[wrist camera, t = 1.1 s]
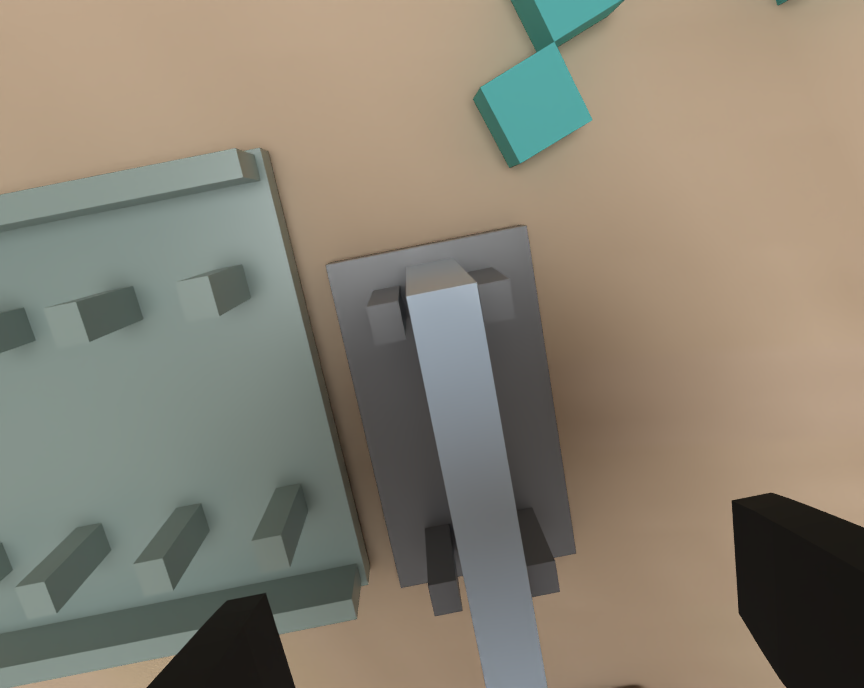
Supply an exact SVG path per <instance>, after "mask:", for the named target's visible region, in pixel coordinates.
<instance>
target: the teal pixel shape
mask: <svg viewBox="0 0 864 688" xmlns="http://www.w3.org/2000/svg"><path fill="white" fill-rule="evenodd" d="M623 1H624V0H511V2H512V4H513V6H514V8H515V10H516V12H517V14H518V16H519V18H520V20H521V22H522V24H523V26H524V28H525V30H526V32H527V34H528V36H529V38H530V40H531V42H532V44H533V46H534V48H535V50H536V52H537V53H535V54H534V55H532V56H530V57H529V58H527V59H525V60H524V61H522V62H521V63H519V64H517V65H516V66H514V67H513V68H511V69H509V70H508V71H506V72H504V73H503V74H501V75H500V76H498V77H496V78H495V79H493V80H492V81H490V82H488V83H487V84H485V85H483V86H482V87H480V89H479V90H478V92H477V94H476V95H475V97H474V99H473V100H474V102H475V104H476V106H477V108H478V110H479V112H480V113H481V115H482V117H483V119H484V121H485V123H486V125H487V127H488V129H489V130H490V132H491V134H492V136H493V138H494V140H495V142H496V144H497V145H498V147H499V149H500V151H501V153H502V155H503V157H504V159H505V160H506V162H507V164H508V166H509V168H510V167H513V166H515V165H518V164H520V163H522V162H524V161H525V160H527V159H529V158H530V157H532V156H534V155H535V154H537V153H539V152H540V151H542V150H544V149H545V148H547V147H549V146H550V145H552V144H554V143H555V142H557V141H558V140H560V139H562V138H563V137H565V136H567V135H568V134H570V133H572V132H573V131H575V130H577V129H578V128H580V127H582V126H583V125H585V124H587V123H588V122H590V121H592V118H591V116H590V114H589V112H588V110H587V108H586V105H585V103H584V101H583V99H582V97H581V95H580V93H579V91H578V89H577V87H576V85H575V83H574V81H573V79H572V77H571V75H570V73H569V71H568V69H567V66H566V64H565V62H564V60H563V58H562V56H561V54H560V52H559V50H558V48H557V47H559V46H560V45H562V44H563V43H565V42H567V41H568V40H570V39H572V38H573V37H575V36H576V35H578V34H580V33H581V32H583V31H585V30H586V29H588V28H589V27H591V26H593V25H594V24H596V23H597V22H599V21H601V20H602V19H604V18H606V17H607V16H608V15H609V14H610V13H612V12H613V11H614V10H615V9H616V8H617V7H618V6H619V5H620V4H621V3H622V2H623ZM786 1H787V0H776V2H777V5H780V4H782V3H784V2H786Z"/></svg>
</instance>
